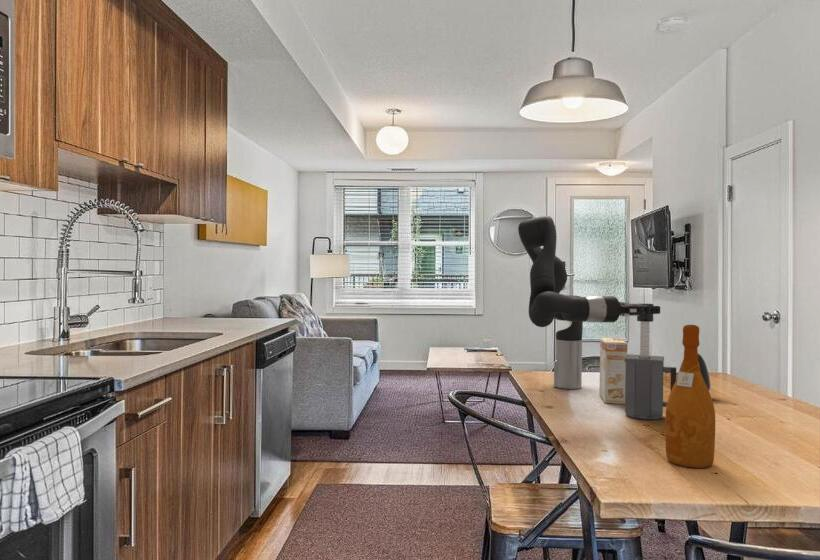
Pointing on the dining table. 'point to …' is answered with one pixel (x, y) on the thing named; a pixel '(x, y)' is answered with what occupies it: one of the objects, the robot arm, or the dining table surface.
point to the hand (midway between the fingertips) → (651, 309)
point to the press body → (645, 386)
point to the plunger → (644, 332)
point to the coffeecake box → (612, 370)
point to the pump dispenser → (703, 371)
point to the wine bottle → (690, 411)
